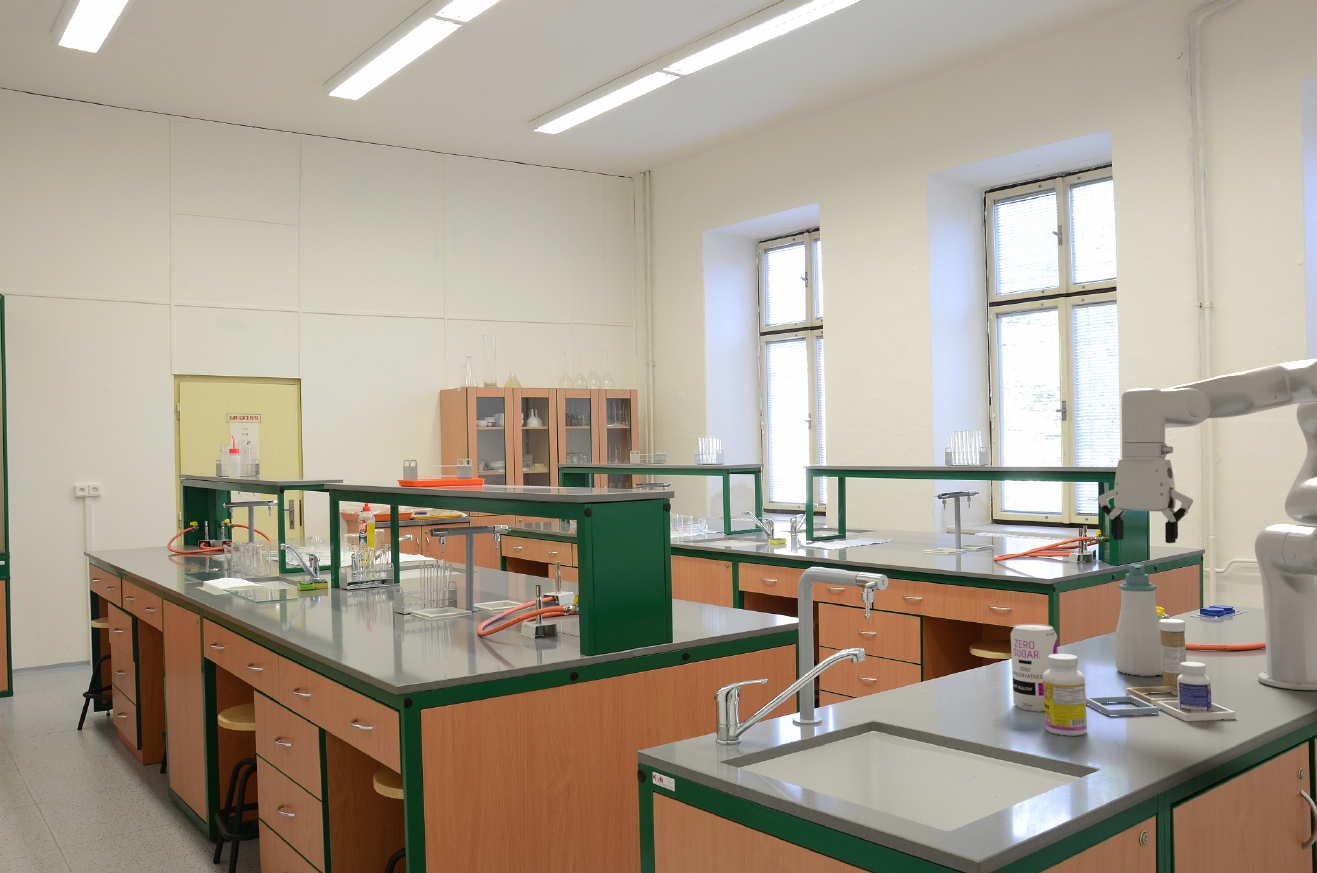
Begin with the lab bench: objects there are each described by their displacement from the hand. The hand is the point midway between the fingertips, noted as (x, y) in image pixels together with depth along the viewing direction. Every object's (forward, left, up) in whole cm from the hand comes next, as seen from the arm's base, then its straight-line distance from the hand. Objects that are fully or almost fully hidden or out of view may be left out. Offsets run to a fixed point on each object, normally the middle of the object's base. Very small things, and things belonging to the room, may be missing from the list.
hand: (1143, 541), depth 185 cm
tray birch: (-1, +2, -30) cm, 30 cm away
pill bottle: (-1, +12, -30) cm, 33 cm away
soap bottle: (-9, -20, -30) cm, 37 cm away
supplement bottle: (+26, +19, -30) cm, 44 cm away
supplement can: (+24, +3, -30) cm, 38 cm away
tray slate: (+10, +7, -30) cm, 32 cm away
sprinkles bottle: (-8, -6, -30) cm, 32 cm away
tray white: (-1, +12, -30) cm, 32 cm away
